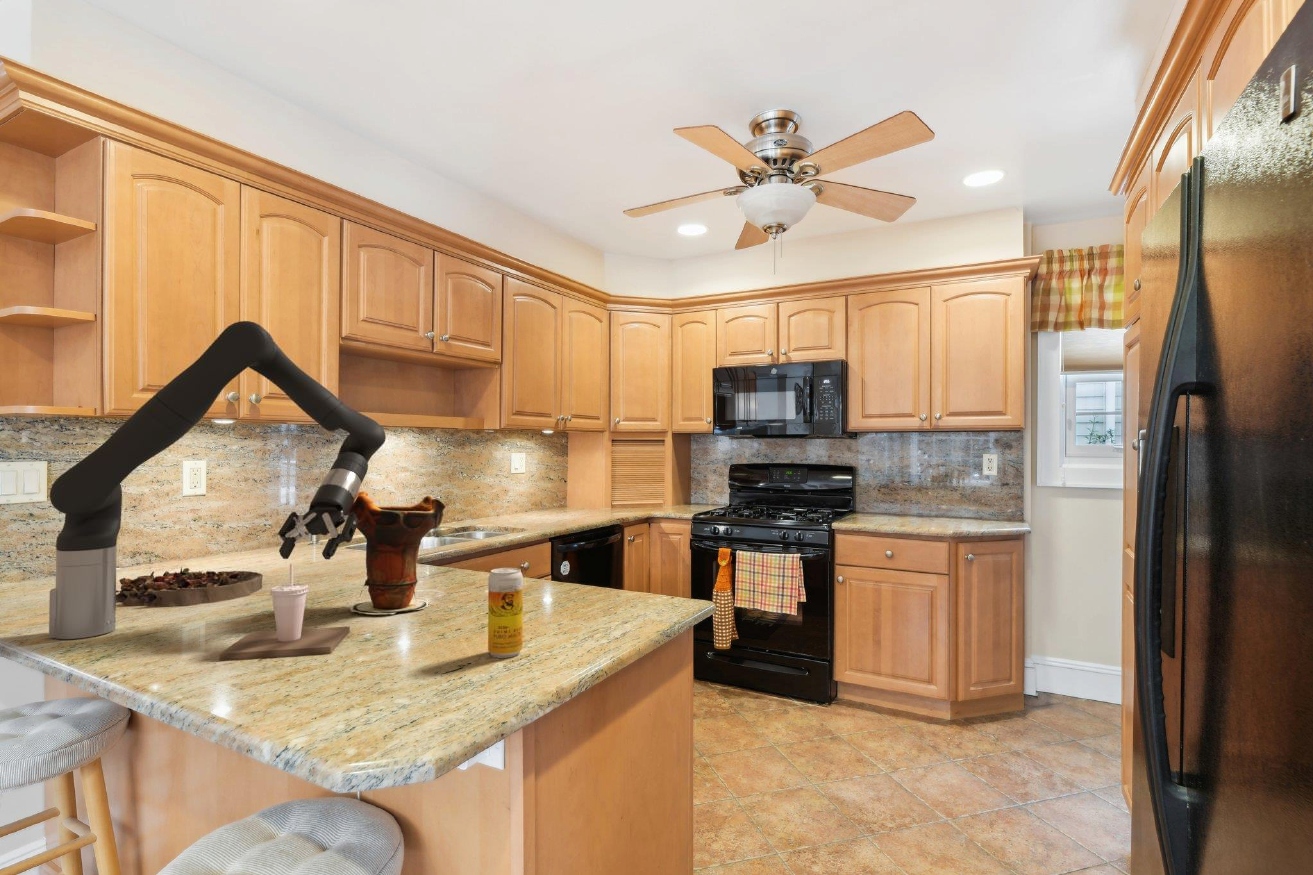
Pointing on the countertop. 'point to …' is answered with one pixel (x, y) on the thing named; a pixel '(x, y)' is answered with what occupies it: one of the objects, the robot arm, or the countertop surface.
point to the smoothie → (289, 608)
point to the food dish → (187, 588)
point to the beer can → (505, 612)
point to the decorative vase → (393, 551)
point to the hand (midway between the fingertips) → (304, 556)
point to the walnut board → (285, 644)
